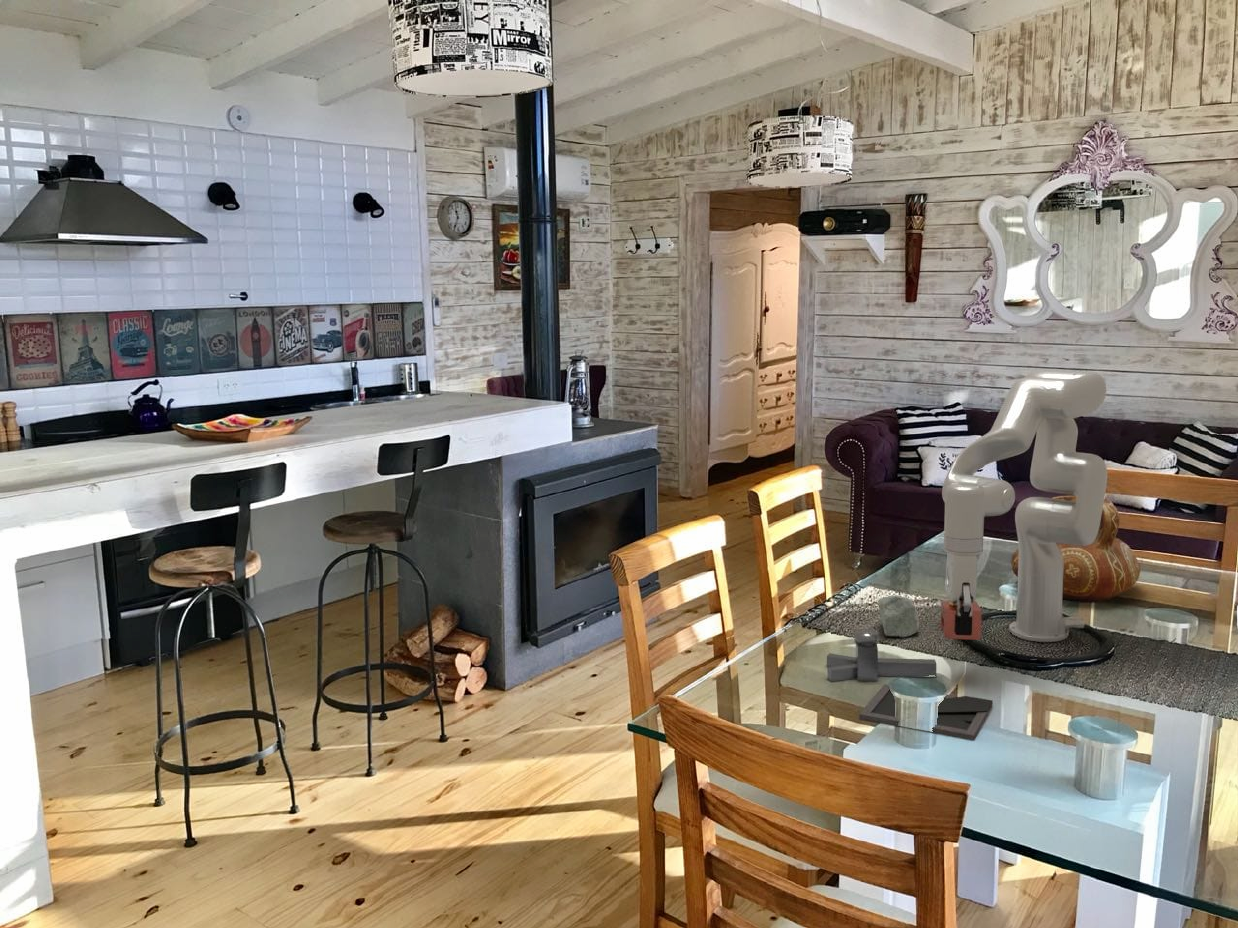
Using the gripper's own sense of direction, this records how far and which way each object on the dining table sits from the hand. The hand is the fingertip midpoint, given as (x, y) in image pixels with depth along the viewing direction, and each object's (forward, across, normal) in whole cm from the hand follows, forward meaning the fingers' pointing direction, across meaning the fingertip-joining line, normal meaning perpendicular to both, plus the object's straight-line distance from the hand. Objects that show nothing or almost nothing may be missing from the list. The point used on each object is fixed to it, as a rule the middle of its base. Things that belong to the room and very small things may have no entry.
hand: (960, 628), depth 213 cm
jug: (+10, -60, +37) cm, 71 cm away
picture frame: (+12, +19, -9) cm, 24 cm away
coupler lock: (+1, 0, 0) cm, 1 cm away
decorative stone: (+11, -27, -10) cm, 31 cm away
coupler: (+11, 0, -16) cm, 19 cm away
